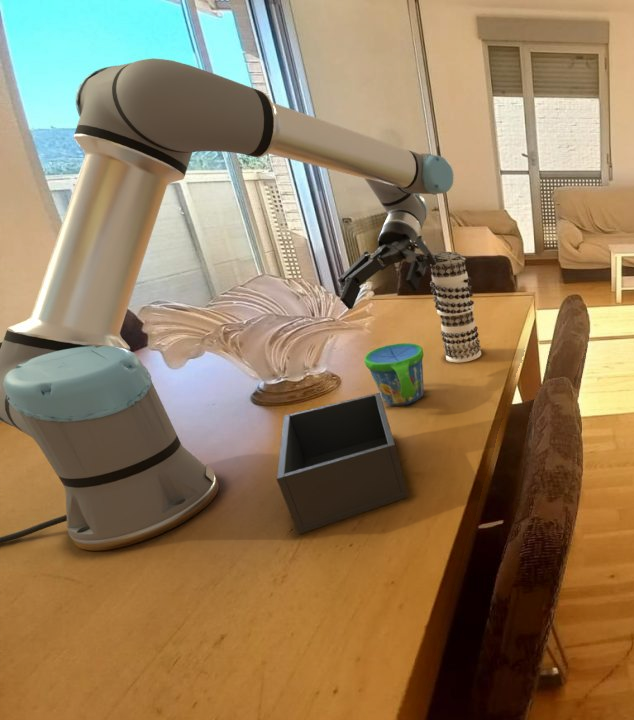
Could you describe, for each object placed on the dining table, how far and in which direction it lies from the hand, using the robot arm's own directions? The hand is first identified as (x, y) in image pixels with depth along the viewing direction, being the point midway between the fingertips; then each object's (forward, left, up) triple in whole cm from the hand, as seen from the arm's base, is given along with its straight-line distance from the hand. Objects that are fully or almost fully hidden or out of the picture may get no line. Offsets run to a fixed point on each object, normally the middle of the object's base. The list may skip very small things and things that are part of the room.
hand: (378, 294), depth 91 cm
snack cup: (0, -4, -21) cm, 22 cm away
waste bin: (-11, -28, -21) cm, 36 cm away
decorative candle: (+16, +13, -21) cm, 29 cm away
